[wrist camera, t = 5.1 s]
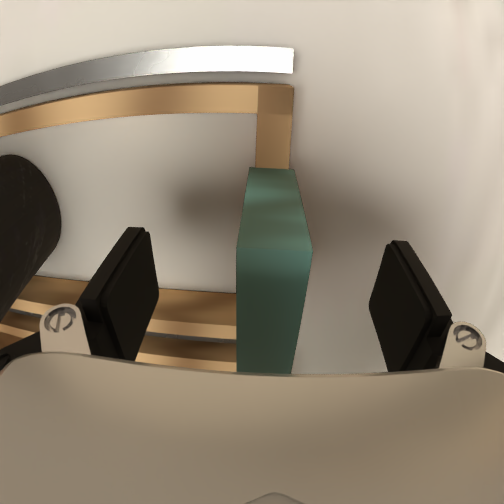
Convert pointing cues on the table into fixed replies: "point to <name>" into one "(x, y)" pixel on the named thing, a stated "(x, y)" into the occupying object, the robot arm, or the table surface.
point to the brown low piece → (251, 226)
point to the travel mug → (24, 226)
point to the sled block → (150, 349)
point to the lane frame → (149, 65)
